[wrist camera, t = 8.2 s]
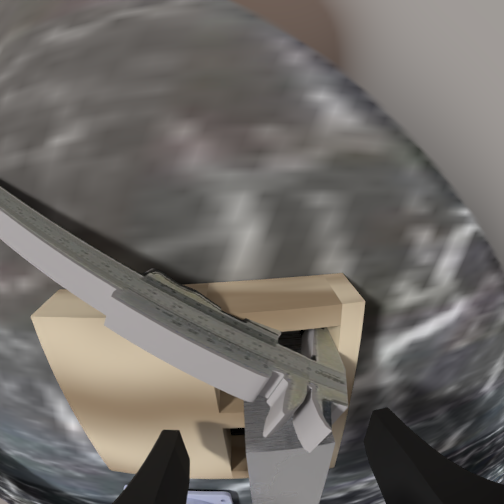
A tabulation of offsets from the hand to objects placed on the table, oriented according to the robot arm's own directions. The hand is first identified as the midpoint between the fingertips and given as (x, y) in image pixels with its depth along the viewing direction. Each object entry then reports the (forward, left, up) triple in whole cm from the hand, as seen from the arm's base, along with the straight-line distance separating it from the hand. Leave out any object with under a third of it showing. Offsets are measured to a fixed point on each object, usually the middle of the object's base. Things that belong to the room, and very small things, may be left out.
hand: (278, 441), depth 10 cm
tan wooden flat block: (0, +3, -4) cm, 5 cm away
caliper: (+8, +7, -4) cm, 11 cm away
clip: (-1, 0, -4) cm, 4 cm away
